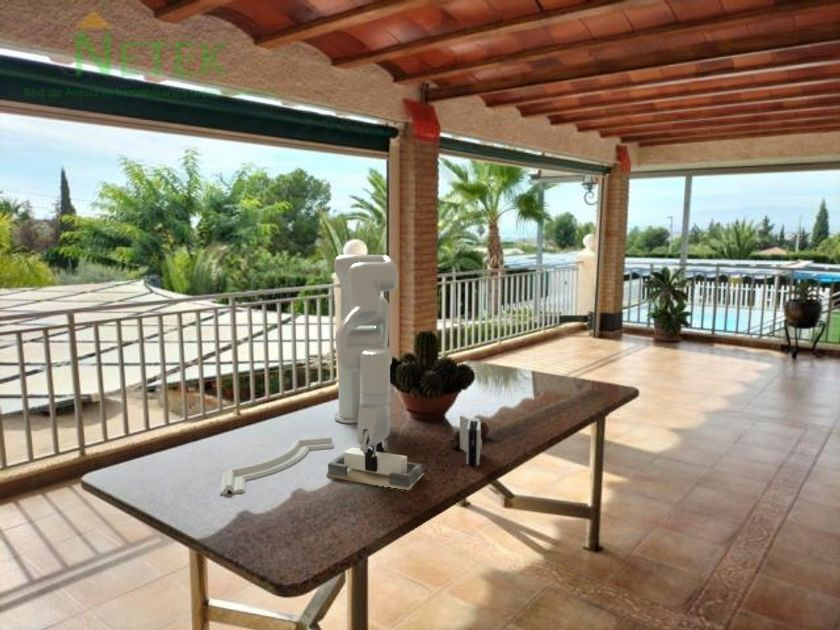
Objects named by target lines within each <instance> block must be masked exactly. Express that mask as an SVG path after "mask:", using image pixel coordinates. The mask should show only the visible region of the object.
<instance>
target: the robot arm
mask: <svg viewBox="0 0 840 630" xmlns="http://www.w3.org/2000/svg"><path fill="white" fill-rule="evenodd" d="M333 266H334V267H333V268H334V272H335V274H336V277H337V279H338V281H339V283H340V319H341V321H342V322H341V323H340V325H339V328H338V329H337V330H336V333H335V340H334V341H335V346H336V347H335V348H336V352H337V353H336V356H337V357H336V358H337V364H338V365H337V367H338V371H337V372H338V412H336V413H335V414H334V416H333V417H334V420H335V421H337V422H338V421H339V423H343V424H357V443H358V445H360V448H359V449H360V450H361V451H363V452H364V456H365V470H366V471H372V472H376V471H377V456H376V451H377V452H383V453H386V449H387V441H388V437H389V436H390V433H391V417H390V415H391V412H390V411H391V410H390V404H391V365H392V362H393V353H392V350H391V348H390V347H389V346H388V343H389V331H390V330H389V329H390V316H391V315H390V314H391V313H390V304H389V302H388V300H387V299H386V298H385V297H384V296H380V292H394V291H395V290H397V288H398V285H399V280H400V279H399V272H398V268H397V265H396V264H395V262H394V260H393V259H392V258H391V257H390V256H389V255H386V254H341V255H340V254H339V255H337V256H336V257H335V258H334V262H333ZM370 447H371V448H372V449H371V448H370Z"/></svg>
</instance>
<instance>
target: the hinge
mask: <svg viewBox="0 0 840 630" xmlns="http://www.w3.org/2000/svg"><path fill="white" fill-rule="evenodd" d="M481 421H482V420H480V418H477V417H473V418H469V417H467V416H464V415H463V414H461V415H459V430H460V446H459V449H460V450H461V449H462V450H461V451H463V450H464V451H463V452H465V453H466V452H467V453H466V457H465V458H466V460H465V461H466V462H465V463H466V465H467V464H469V465H471V466H472V460H473V467H476V466H479V465H480V461H479V460H481V459H480V458H481V449H482V447H483V445H482V443H483V440H482V439H483V438H481ZM469 465H468V466H469Z"/></svg>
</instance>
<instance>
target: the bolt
mask: <svg viewBox="0 0 840 630" xmlns="http://www.w3.org/2000/svg"><path fill="white" fill-rule="evenodd" d="M480 421H481V439H485V438H486V437H487V436H488V434H489V433H490V429H489V426H488V424H487V422H485V421H484V420H483V421H482V420H480ZM448 444H449V446H450V447H452V448H458V447H460V429H459V430H456V432H455V434H454V435H453V436H451V437H450V438H448Z"/></svg>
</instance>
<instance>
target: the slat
mask: <svg viewBox="0 0 840 630" xmlns="http://www.w3.org/2000/svg"><path fill="white" fill-rule="evenodd" d="M343 453H344V465H347V468H352V469H358V470H363V471H366V470H365V456H364V452H363V451H361V450H360V448H359V447H358V448H357V447H352V446H351V447H350V448H348V449H346V451H344V452H343ZM376 456H377V471H376V472H375V473H380V474H386V475H389V474H390V473H396V474H402V475H403V474H405V473H406V472H407V462H408V456H407V455H402V454H395V453H388V452H385V453H383V452H377V451H376ZM369 472H372V471H369Z"/></svg>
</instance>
